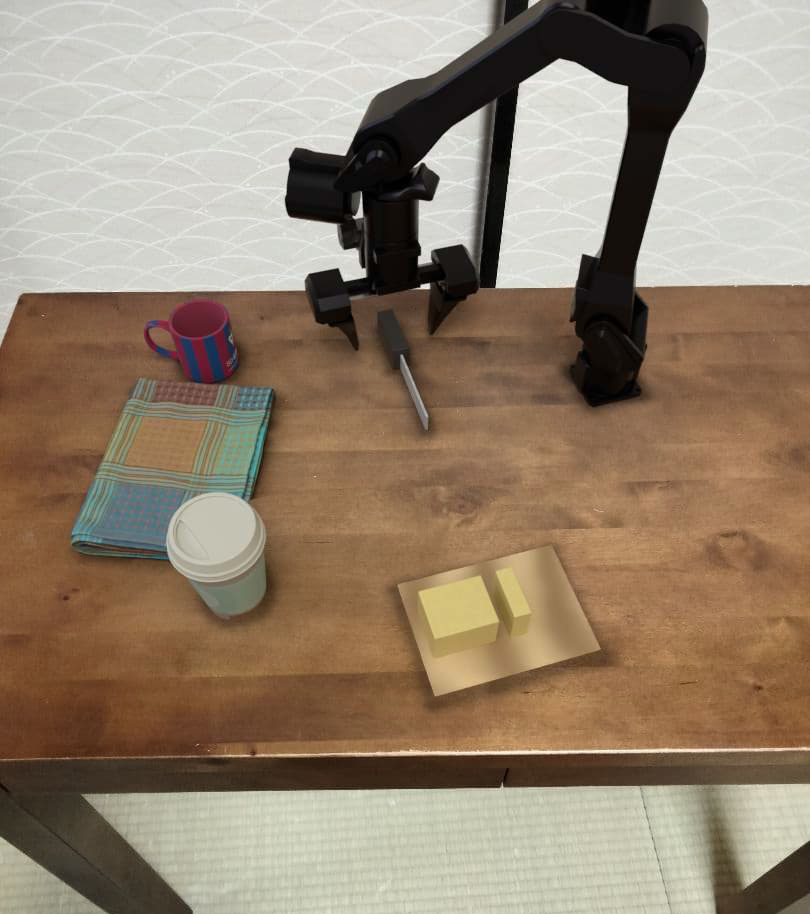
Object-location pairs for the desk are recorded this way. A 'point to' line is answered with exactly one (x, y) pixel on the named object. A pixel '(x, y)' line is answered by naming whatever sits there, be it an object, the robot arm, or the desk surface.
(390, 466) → the desk surface
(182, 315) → the cup
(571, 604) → the board
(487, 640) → the butter block
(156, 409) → the dish towel
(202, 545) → the coffee cup
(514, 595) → the butter slice
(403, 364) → the knife
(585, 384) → the robot arm
